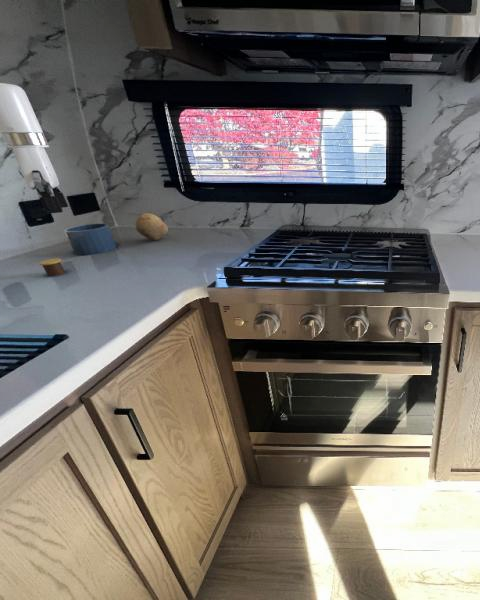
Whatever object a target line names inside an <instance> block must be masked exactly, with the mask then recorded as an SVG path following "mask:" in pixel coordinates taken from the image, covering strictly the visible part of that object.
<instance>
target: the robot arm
mask: <svg viewBox="0 0 480 600" xmlns="http://www.w3.org/2000/svg"><path fill="white" fill-rule="evenodd" d="M0 136H1V137H2V139H3V141H4V143H5V146H6V147H7V149H12V151H13V153H14V157H15V160H16V162H17V164H18V167H19V170H20V171H21V174H22V176H23V178H24V180H25V182H26V185H27V187H28V188H29V189H30V190H33V191H34V190H36V192H37V196H38V199H39V201H40V203H41V205H42V207H43V209H44V211H45V214H60V213H63V212H64V210H63V208H68V207H69V204H68V202H67V200H66V198H65V195H64V193H63V192H62V190H61V187H60V186H59V185H60V180H59V179H58V175H57V173H56V171H55V168H54V166H53V164H52V161H51V160H50V157H49V155H48V153H47V151H46V149H45V148H50V145H49V143H48V140H47V138H46V136H45V134H44V132H43V129H42V127H41V124H40V123H39V120H38V118H37V116H36V114H35V111H34V108H33V106H32V104H31V101H30V100H29V97H28V95H27V92H26V91H25V90H24V89H23V88H22V87H21V86H19V85H17V84H12V83H6V82H0Z"/></svg>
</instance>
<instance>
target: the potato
mask: <svg viewBox="0 0 480 600" xmlns="http://www.w3.org/2000/svg"><path fill="white" fill-rule="evenodd" d="M135 229H136V232H138V233H139V234H140V235H141V236H143V237H145V238H147V239H148V240H151V241H158V240H160V239H162V237H164V236H165V235H166V234H168V231H169V228H168V226H167V224H166V223H165V222H164V221H163V220H162V219H161V218H160V217H158V216H157V215H155V214H153V213H150V212H149V213H148V212H146V213H141V214H140V215H139V216H138V217H137V218H136V221H135Z"/></svg>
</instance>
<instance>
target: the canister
mask: <svg viewBox="0 0 480 600" xmlns="http://www.w3.org/2000/svg"><path fill="white" fill-rule="evenodd" d="M63 231H64V234H65V236H66V238H67V240H68V242H69V244H70V246H71V248H72V250H73V252H74V254H75V255H76V256H79V257H80V256H83V257H84V256H92V255H93V256H94V255H99V254H104V253H108V252H112V251H114V250H117V248H118V245H117V242H116V240H115V238H114V234H113V233H112V230H111V227H110V226H109V224H108V223H104V222H103V223H98V222H97V223H89V224H82V225H76V226H72V227H68V228H66V229H64V230H63Z"/></svg>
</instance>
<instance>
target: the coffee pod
mask: <svg viewBox="0 0 480 600" xmlns="http://www.w3.org/2000/svg"><path fill="white" fill-rule="evenodd" d="M38 264H39V266H41V267H43V270H44V272H45V273H46V275H47V276H48V277H57V276H61V275H64V274H66V271H65V269H64V267H63V265H62V258H49V259H45V260H42V261H40V262H38Z"/></svg>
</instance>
